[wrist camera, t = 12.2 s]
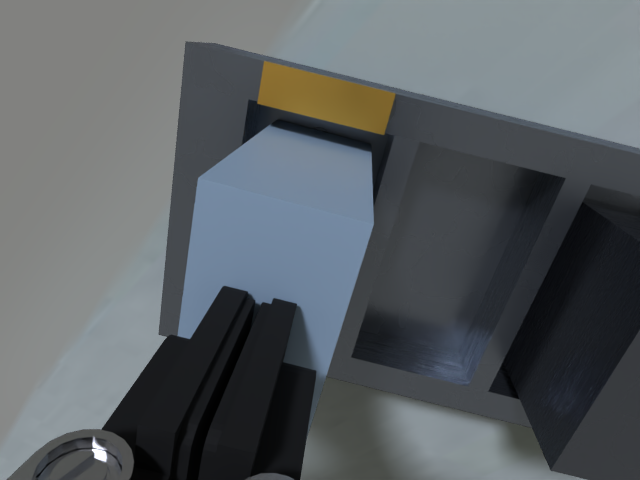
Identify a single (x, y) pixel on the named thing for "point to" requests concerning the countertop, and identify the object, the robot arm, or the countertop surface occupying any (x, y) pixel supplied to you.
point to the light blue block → (284, 235)
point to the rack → (456, 251)
